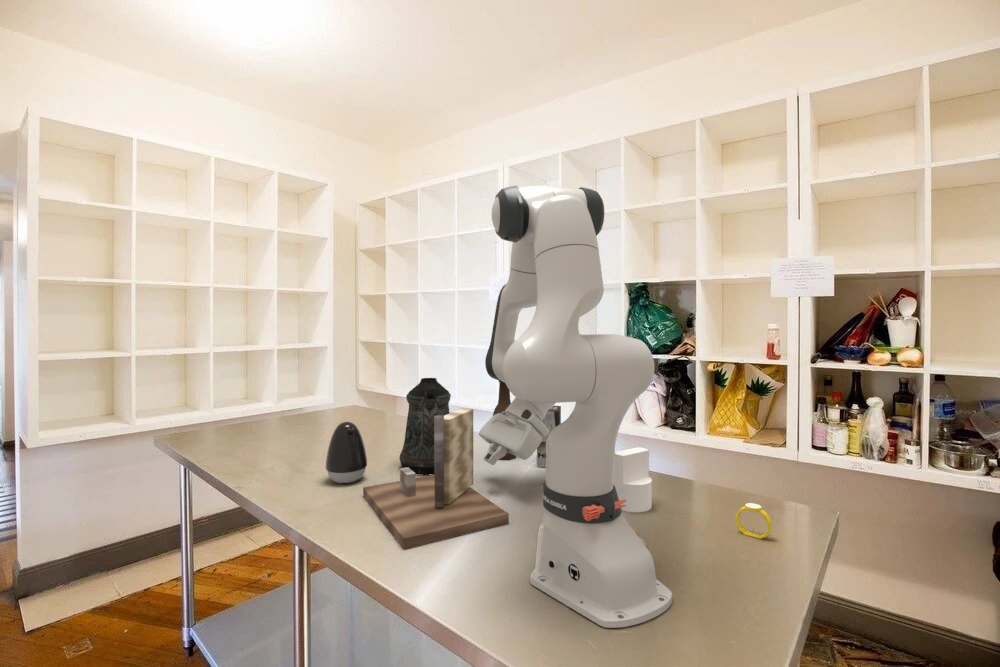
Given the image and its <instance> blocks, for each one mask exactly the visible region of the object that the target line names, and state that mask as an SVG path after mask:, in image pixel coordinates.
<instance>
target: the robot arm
mask: <svg viewBox="0 0 1000 667" xmlns="http://www.w3.org/2000/svg"><path fill="white" fill-rule="evenodd" d="M491 221H492V225H493V228H494V230H495V234H496V235H497V236H498V237H499V238H500V239H501V240H502V241H503V240H504V241H506V242H511V243H512V244H511V252H510V265H509V268H510V269H509V275H508V279H507V281H506V283H505V284H504V285H503V286H502V287H501V289H500V291H499V293H498V296H497V302H496V306H495V312H494V319H493V325H492V332H491V339H490V341H489V342H490V343H489V347H488V349H487V352H486V355H485V361H484V364H485V370H486V372H487V374H488V376H490V378H491V379H494V380H497V381H502V382H505V383H506V385H507V387H508V389H509V390H510V394H512V395H513V396H514V399H513V400H512V401H511V404H510V405H509V406H508V408H507V409H506V410H505V411H503V412H501V413H498V414H495V415H494V416H493V415H492V416H491V417H490V419H489V420H487V421H486V423H485V424H484V425H483V426H482V427H480V430H479V432H478V435H479V437H480V438H481V439H482V441H484V442H486V443H487V444H489V446H488V448H487V450H486V452H487V453H486V454H485V455H484V456H483V460H484V461H485V462H486V463H488V464H490V465H491V466H494V465H495V464H496V463H497V462H498V461H500V460H499V459H500V458H502V457H504V456H505V455H506V453H507V452H508V453H510V454H512V455H515V456H516V458H519V459H521V460H523V461H525V460H528V459H530V458H531V456H533V454H534V453H535V452H536V451H537V448H538V446H539V445H540V443H541V441H542V437H546V436H547V435H548V433H549V430H548V428H547V427H546V426H545V425H544V424H543V422H542V421H543V419H544V418H545V415H546V413H547V411H548V410H549V409H550V408H552V407H553V406H556V404H558V403H559V404H560V403H575V404H574V407H573V409H572V412H571V413H570V414H569V416H568V417H567V418H566V419H565V420H564V421H563V422H561V424H559V425H558V426H556V427H555V428H554V429H553V430H552V431H551V432H550V434H549V436H548V438H547V441H546V467H545V480H544V481H543V483H542V484H543V485H542V486H543V488H542V490H541V494H542V496H541V497H542V506H543V508H544V510H543V512H544V513H543V516H542V519H541V523H540V525H539V528H538V535H537V544H536V553H535V564H534V565H535V566H534V568H533V570H532V571H531V573H530V577H529V583H530V584H531V585H532V586H534V587H535V588H537V589H538V590H540V591H542V592H543V593H545V594H547V595H549V596H550V597H552V598H553V599H555V600H557V601H559V602H560V603H562V604H564V605H565V606H566V607H568V608H571V609H572V610H573V611H575V612H577V613H579V614H580V615H582V616H584V617H585V618H587V619H588V620H590V621H592V622H594V623H595V624H596V625H599V626H600V627H602V628H609V629H611V628H613V629H615V628H625V627H627V628H628V627H631V626H636V625H638V624H642V623H645V622H647V621H649V620H652V619H653V618H656V617H658V616H659V615H661V614H662V613H665V611H667V610H668V609H669V608H670V607H671V605H672V603H673V600H674V598H673V591H671V589H669V588H668V587H667V586H666V585H664V584H663V583H662V582H661V581H660V580H658V579H657V577H656V568H655V561H654V559H653V556H652V554H651V552H650V550H648V547H647V545H646V543H645V542H646V541H645V540H644V539H643V538H641V537H639V536H638V535H637V533H636V532H635V531H634V529H633V528H632V527H631V526H630V523H628V521H627V520H626V518H624V516H623V514H622V512H623V511H622V509H621V507H625V506H626V505H620V504H623V503H624V502H626V500H625V499H624V500H620V501H619V498H618V494H617V491H616V488H615V486H614V484H613V473H614V453H615V451H616V450H615V449H616V442H617V437H618V433H619V430H620V427H621V424H622V423H623V420H624V418H625V416H626V414H627V412H628V411H629V409H630V407H632V405H633V403H634V402H635V401H636V400H637V398H639V397H640V396H641V395H642V394H644V393H645V392H646V391H647V390H648V389H649V387H650V386H651V383H652V381H653V378H654V375H655V361H654V357H653V354H652V352H651V350H650V349H649V347H648V345H647V344H646V343H645V342H644V341H643V340H641V339H638V338H634V337H630V336H625V335H621V334H614V333H612V334H610V333H607V334H604V333H603V334H597V333H595V334H582V333H581V334H580V330H579V322H580V321H579V320H580V319H581V318H580V317H582V316H584V315H586V314H588V313H589V312H591V311H592V310H594V309H595V308H596V307H597V306H598V305H599V304H600V302H601V300H602V298H603V296H604V292H605V288H604V281H603V280H604V279H603V272H602V265H601V258H600V249H599V243H598V239H597V236H599V234H600V233H601V231H602V229H603V226H604V222H605V205H604V201H603V198H602V197H601V195H600V194H599V192H598V191H597V190H594V189H592V188H591V189H590V188H587V187H583V186H582V187H581V186H580V187H578V188H576V187H570V186H559V185H550V184H541V185H538V184H537V185H528V186H527V185H526V186H519V187H518V186H517V185H512V186H511V185H510V186H508V187H503V188H501V189H500V190H499V191H498V192H497V193H496V195H495V199H494V201H493V204H492V207H491ZM534 307H535V311H534V314H533V316H532V319H531V322H530V324H529V325H528V327H527V328H526V330H525V331H524V332H523V333H522V334H521V335H520V337H518V338H517V339H516V340H515V337H516V331H517V324H518V320H519V314H520V312H521V311H522V310H523V309H527V308H534Z"/></svg>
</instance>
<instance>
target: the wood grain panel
mask: <svg viewBox="0 0 1000 667" xmlns="http://www.w3.org/2000/svg"><path fill="white" fill-rule="evenodd" d="M434 475H435V507H436V508H442V507H444V504H450V503H451V502H453V501H454V500H455V499H456V498H457V497H459V496H460V495H461V494H462V493H463V492H465V491H466V490H467V489H468V488H470V487H471V488H472V487H473V486H474V409H473V408H464V407H461V408H459V409H457V410H454V411H452V412H450V413H449V414H447V415H445V416H443V415H436V416H434Z"/></svg>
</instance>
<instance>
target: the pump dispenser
mask: <svg viewBox="0 0 1000 667" xmlns="http://www.w3.org/2000/svg"><path fill="white" fill-rule="evenodd" d="M327 448H328V449H327V451H326V452H327V453H326V459H325V470H326V471H327V475H328V477H329V478H330V480H332V481H333V482H335V483H337V484H342V483H346V484H351V482H352V483H354V482H356V481H358V480H360V479H361V478H362V476H364V474H365V472H366V468H367V466H368V456H367V450H366V447H365V443H364V438H363V437H362V434H361V432H360V430H359V428H358V427H357V425H356V424H355V423H354V422H351V421H343V422H340V423H339V424H338V425H337V426H336V427H335V429H334V431H333V433H332V435H331V438H330V440H329V444H328V447H327Z"/></svg>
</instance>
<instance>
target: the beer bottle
mask: <svg viewBox="0 0 1000 667" xmlns="http://www.w3.org/2000/svg"><path fill="white" fill-rule="evenodd" d="M497 381H498V383H499V387H498V400H497V405H496V406H495V408H494V409H493V413H492V417H493V416H494V415H495V414H498V413H501V412H503V411H505V410H506V409H507V408H508V406H509V405H510V404H511V403H512V401H511V392H510V390H509V389H508V387H507V385H506V383H505V382H502V381H499V380H497ZM513 458H514V459H516V458H517V456H515V455H512V454H510V453H508V452H507V453H506V455H505V456H504V457H502V458H500V459H499V460H498V461H510V459H511V460H514V459H513Z"/></svg>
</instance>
